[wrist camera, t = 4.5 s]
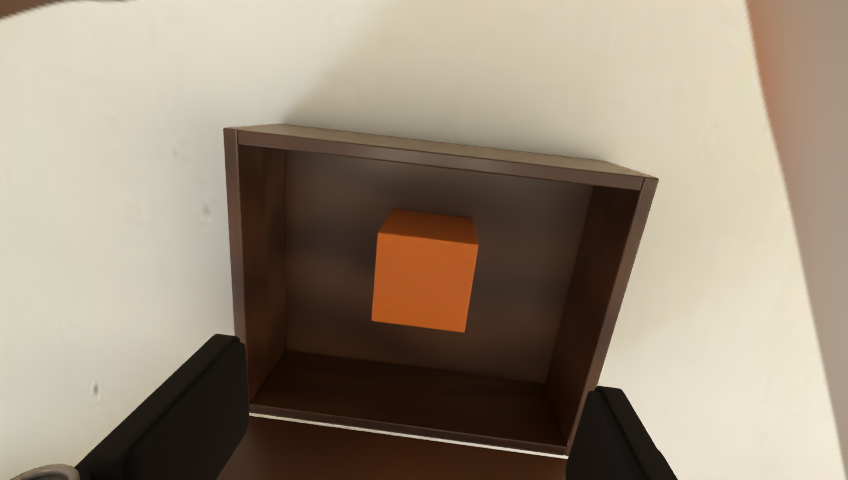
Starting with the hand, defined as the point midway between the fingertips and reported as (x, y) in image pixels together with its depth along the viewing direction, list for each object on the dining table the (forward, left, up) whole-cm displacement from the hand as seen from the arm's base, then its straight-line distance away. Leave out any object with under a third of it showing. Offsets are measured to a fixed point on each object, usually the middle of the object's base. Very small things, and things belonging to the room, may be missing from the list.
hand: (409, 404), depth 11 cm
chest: (0, -1, -13) cm, 13 cm away
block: (0, 0, -13) cm, 13 cm away
